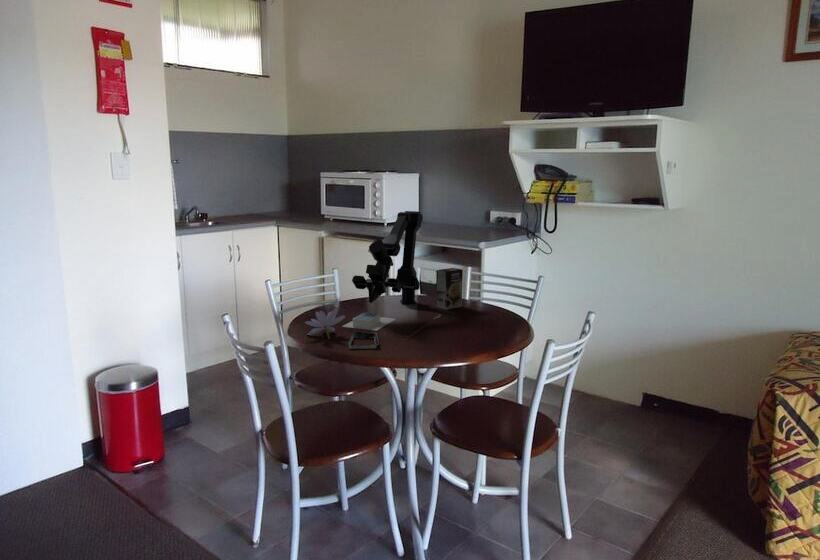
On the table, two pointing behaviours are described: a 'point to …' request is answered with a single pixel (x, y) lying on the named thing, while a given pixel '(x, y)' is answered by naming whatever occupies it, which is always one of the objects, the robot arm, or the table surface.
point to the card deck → (366, 320)
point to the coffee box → (449, 288)
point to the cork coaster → (437, 316)
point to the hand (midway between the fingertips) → (370, 302)
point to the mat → (376, 327)
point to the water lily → (324, 322)
